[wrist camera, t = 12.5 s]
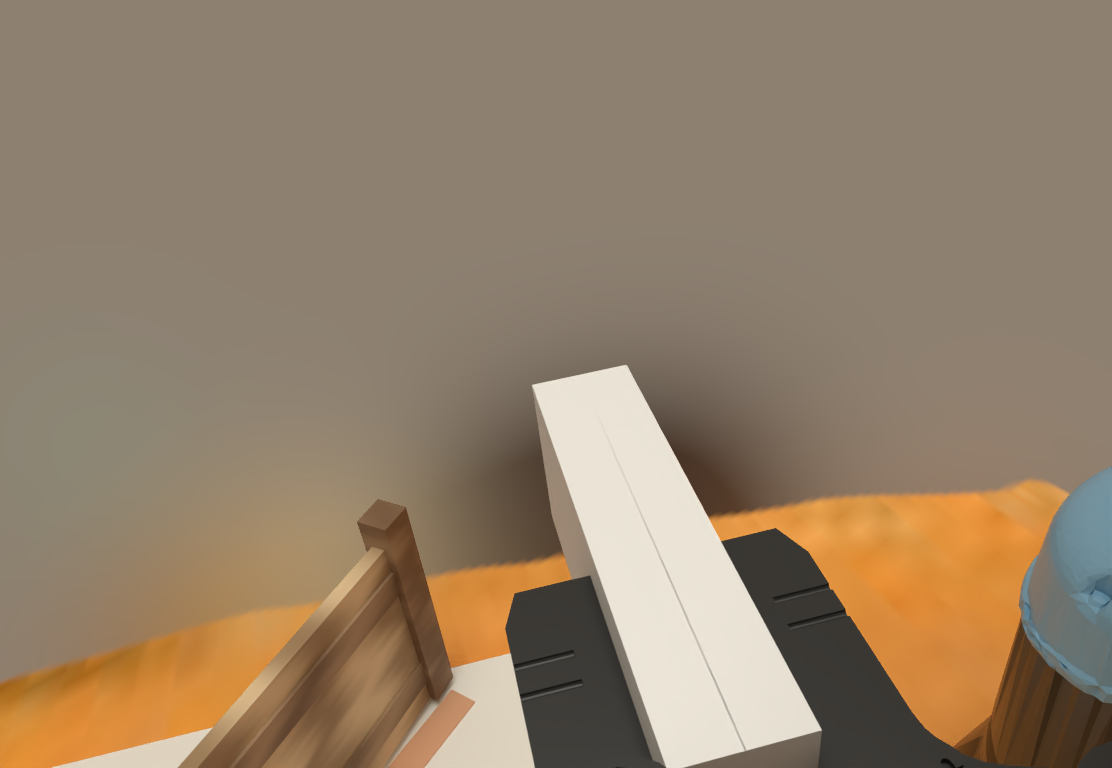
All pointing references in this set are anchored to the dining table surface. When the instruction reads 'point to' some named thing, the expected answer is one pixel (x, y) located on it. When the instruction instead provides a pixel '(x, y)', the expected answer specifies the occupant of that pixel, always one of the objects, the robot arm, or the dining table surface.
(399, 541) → the hinged fence section
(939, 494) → the dining table surface
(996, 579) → the dining table surface
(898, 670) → the dining table surface
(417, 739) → the card
